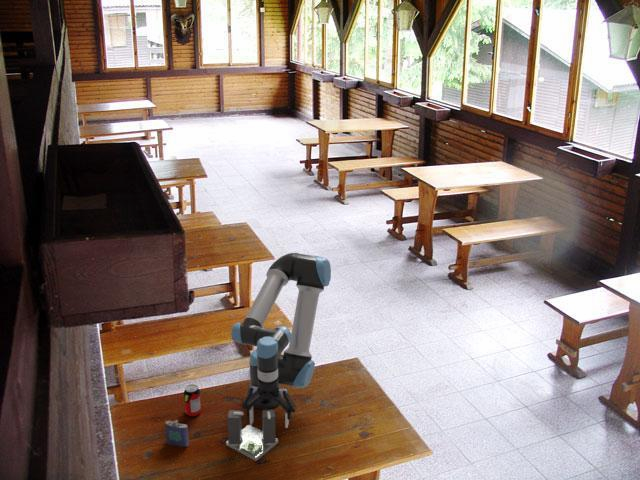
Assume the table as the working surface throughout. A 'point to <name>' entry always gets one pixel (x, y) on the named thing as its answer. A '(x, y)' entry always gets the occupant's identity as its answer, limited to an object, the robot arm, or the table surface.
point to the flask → (176, 434)
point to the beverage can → (192, 400)
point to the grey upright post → (234, 427)
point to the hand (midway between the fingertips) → (269, 423)
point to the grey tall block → (268, 426)
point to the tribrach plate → (252, 443)
